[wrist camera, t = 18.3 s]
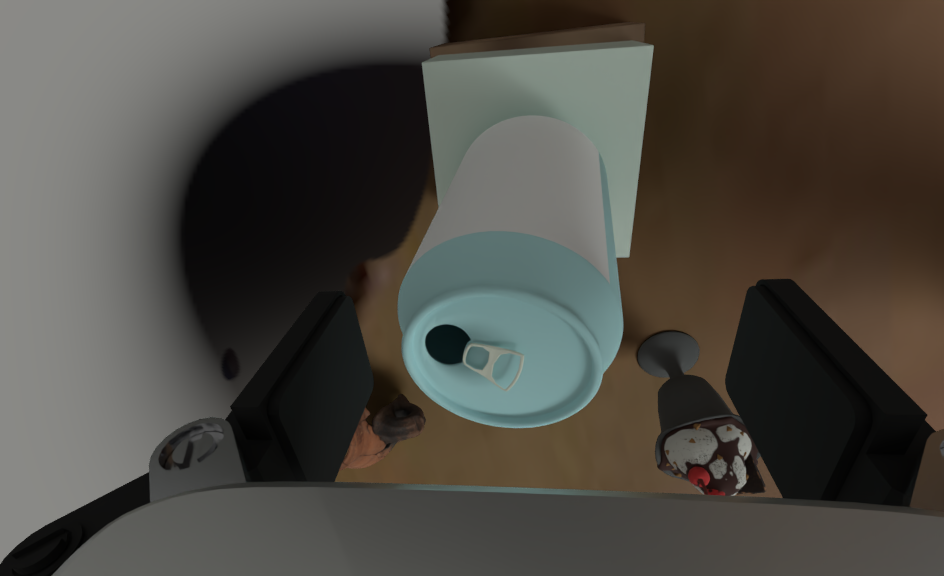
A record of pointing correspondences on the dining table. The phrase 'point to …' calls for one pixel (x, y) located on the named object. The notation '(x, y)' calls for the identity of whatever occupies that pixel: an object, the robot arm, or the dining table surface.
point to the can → (516, 280)
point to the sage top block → (546, 107)
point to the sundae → (698, 423)
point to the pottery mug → (383, 432)
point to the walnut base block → (548, 39)
